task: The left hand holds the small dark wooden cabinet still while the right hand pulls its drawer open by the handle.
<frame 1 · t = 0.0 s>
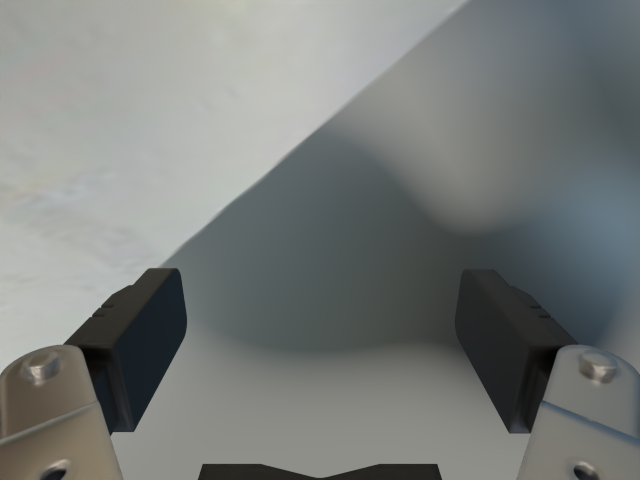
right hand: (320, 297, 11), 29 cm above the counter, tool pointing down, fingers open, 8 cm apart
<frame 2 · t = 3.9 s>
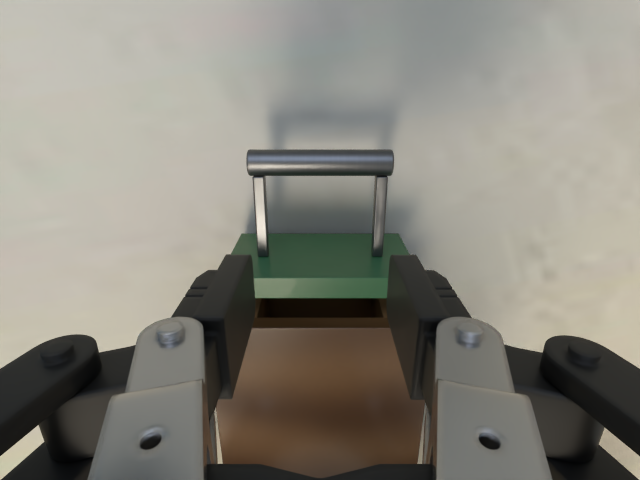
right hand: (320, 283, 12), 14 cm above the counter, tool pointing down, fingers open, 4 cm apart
cabinet: (320, 378, 31), on the counter, touching left hand
drawer: (320, 350, 25), point 4 cm above the counter, slide at 1.1 cm
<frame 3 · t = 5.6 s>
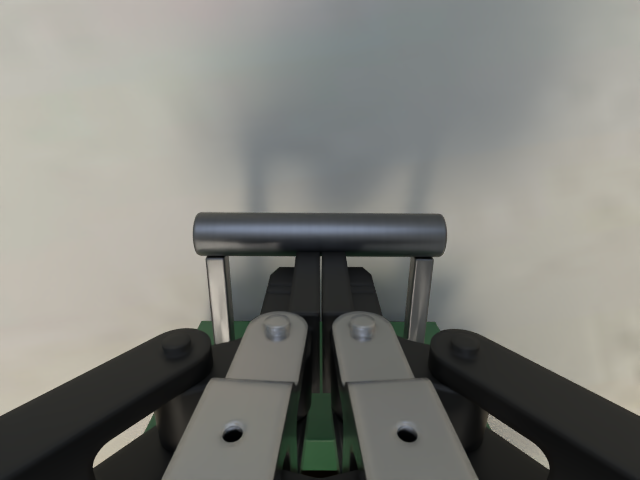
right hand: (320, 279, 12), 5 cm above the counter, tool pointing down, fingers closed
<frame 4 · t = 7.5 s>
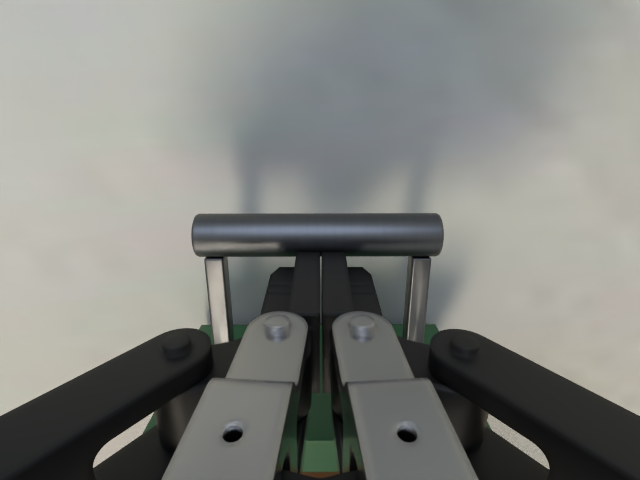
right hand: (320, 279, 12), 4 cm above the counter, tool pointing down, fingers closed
when the left hand's fingers open (4 cm above the counter, at t = 9.3 s): cabinet stays where it is, on the counter.
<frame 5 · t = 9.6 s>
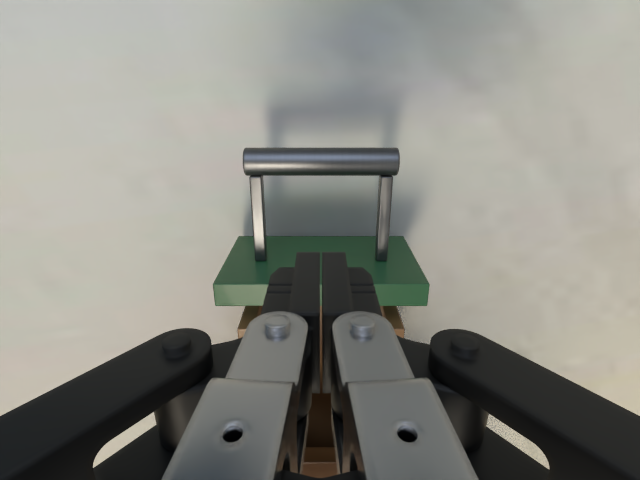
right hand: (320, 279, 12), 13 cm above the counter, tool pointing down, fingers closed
cabinet: (320, 463, 33), on the counter
drawer: (320, 358, 24), point 4 cm above the counter, slide at 9.2 cm
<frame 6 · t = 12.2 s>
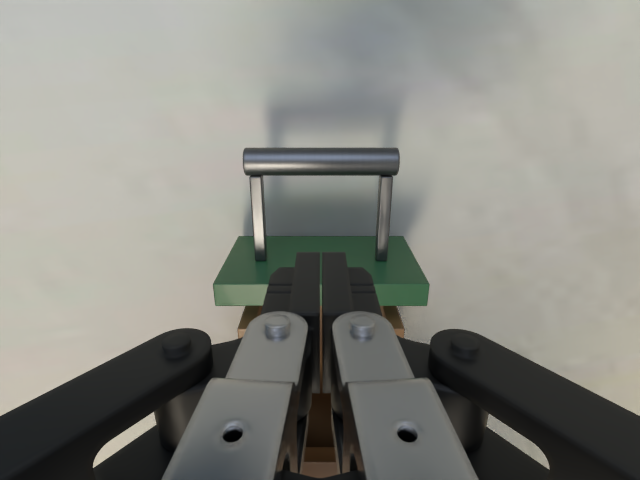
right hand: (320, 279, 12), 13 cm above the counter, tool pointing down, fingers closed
cabinet: (320, 463, 33), on the counter
drawer: (320, 358, 24), point 4 cm above the counter, slide at 9.2 cm
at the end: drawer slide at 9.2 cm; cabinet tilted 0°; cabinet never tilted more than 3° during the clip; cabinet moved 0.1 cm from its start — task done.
